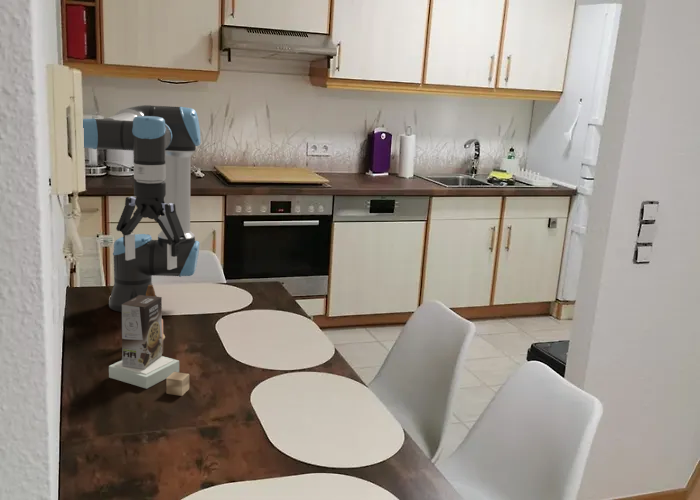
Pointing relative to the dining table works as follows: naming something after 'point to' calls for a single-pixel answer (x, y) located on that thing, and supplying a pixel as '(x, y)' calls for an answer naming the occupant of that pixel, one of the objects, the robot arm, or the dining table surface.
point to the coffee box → (141, 331)
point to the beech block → (177, 383)
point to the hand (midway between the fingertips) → (150, 263)
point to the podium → (144, 372)
